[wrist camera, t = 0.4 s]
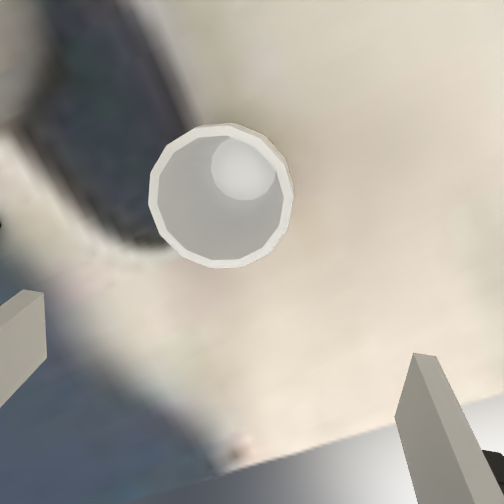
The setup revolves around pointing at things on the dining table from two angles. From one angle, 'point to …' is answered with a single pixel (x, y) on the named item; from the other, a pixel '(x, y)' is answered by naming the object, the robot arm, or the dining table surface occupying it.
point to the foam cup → (221, 195)
